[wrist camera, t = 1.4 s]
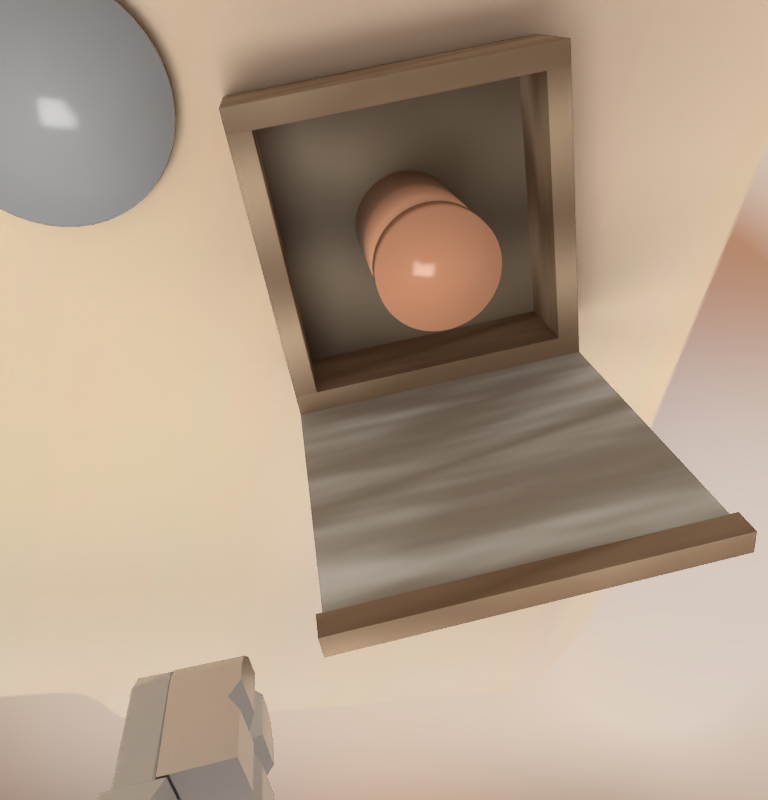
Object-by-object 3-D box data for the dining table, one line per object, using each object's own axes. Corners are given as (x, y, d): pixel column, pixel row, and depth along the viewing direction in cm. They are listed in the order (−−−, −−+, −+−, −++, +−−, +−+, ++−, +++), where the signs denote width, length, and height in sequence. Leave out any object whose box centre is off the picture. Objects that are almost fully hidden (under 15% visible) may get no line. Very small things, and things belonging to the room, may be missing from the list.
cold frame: (218, 97, 30) (179, 194, 15) (539, 33, 31) (821, 61, 16) (296, 389, 38) (324, 657, 22) (553, 332, 39) (754, 551, 23)
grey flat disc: (-133, -10, 27) (-141, -9, 26) (128, -58, 27) (126, -60, 27) (-15, 244, 32) (-19, 247, 31) (204, 198, 32) (203, 201, 32)
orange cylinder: (345, 182, 32) (365, 222, 26) (452, 159, 33) (496, 194, 27) (364, 284, 35) (387, 342, 29) (464, 263, 35) (506, 316, 29)
